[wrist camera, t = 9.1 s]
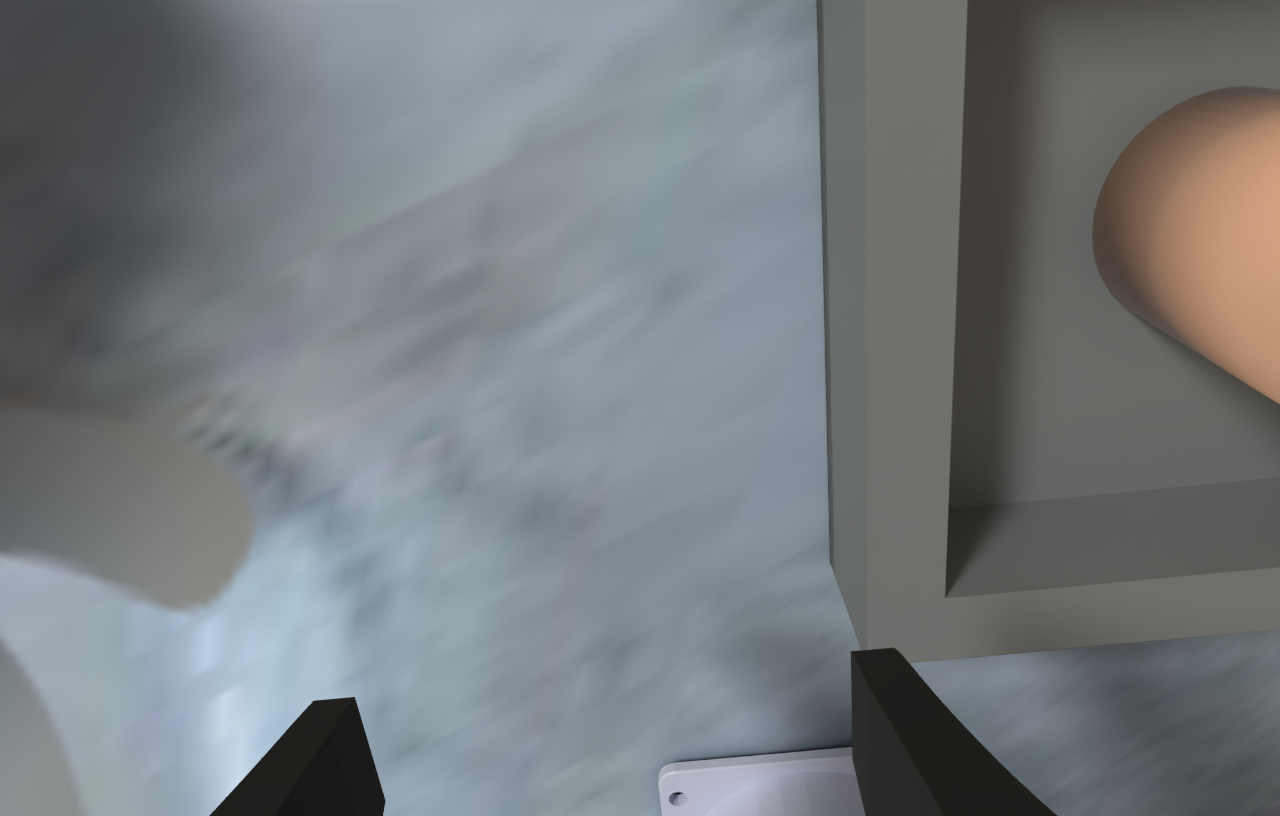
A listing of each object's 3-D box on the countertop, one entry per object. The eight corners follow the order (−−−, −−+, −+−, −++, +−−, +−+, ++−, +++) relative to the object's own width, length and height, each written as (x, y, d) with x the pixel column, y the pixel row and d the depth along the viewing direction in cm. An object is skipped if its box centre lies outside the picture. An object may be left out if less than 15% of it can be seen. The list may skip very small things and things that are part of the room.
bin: (1476, 500, 23) (1636, 596, 19) (830, 562, 23) (867, 666, 20) (1715, -281, 16) (2026, -358, 13) (812, -174, 17) (864, -218, 13)
